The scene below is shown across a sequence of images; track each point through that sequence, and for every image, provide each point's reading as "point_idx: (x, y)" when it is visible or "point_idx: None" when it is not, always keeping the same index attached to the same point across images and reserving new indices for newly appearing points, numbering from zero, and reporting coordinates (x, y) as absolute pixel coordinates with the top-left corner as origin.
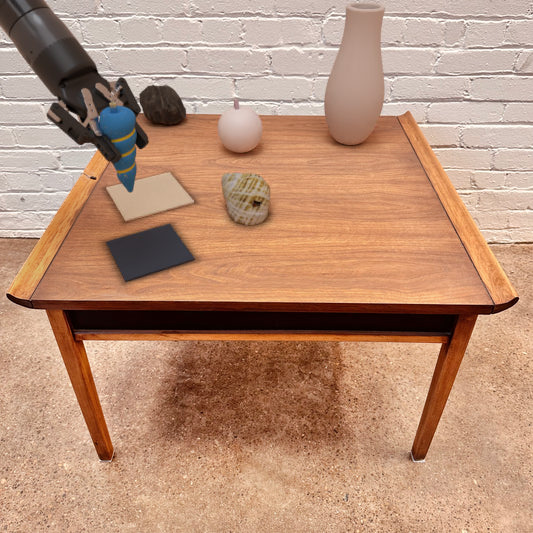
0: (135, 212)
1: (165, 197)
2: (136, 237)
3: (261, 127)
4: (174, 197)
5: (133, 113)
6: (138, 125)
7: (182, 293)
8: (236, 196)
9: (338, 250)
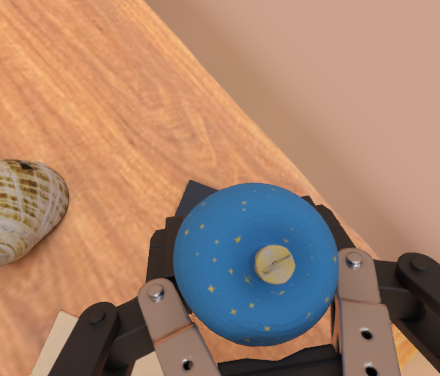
0: (159, 373)
1: None
2: None
3: None
4: None
5: (190, 216)
6: (151, 271)
7: (254, 140)
8: (29, 204)
9: (41, 41)
